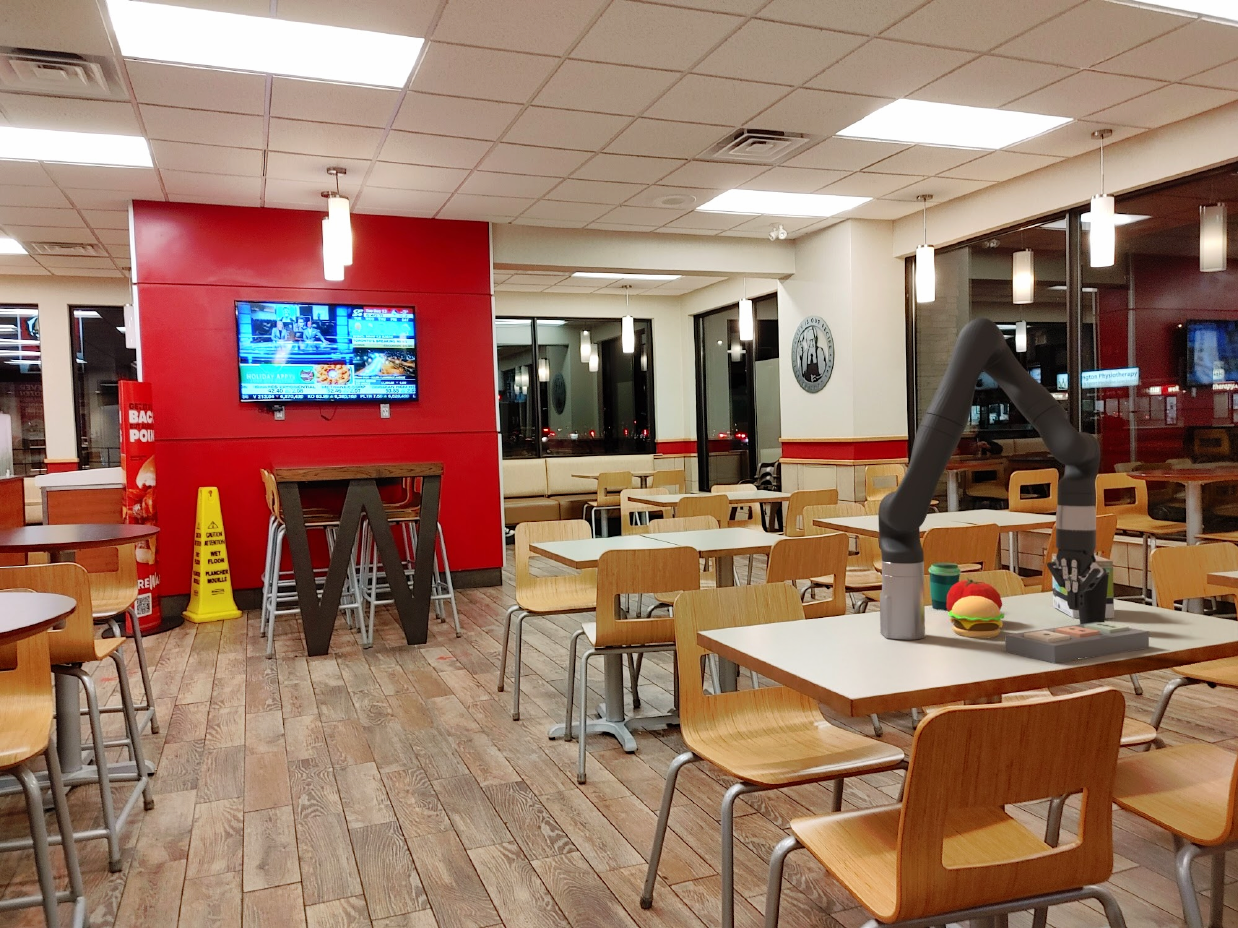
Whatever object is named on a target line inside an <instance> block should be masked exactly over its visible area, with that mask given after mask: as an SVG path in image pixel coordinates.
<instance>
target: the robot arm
mask: <svg viewBox="0 0 1238 928" xmlns="http://www.w3.org/2000/svg"><path fill="white" fill-rule="evenodd" d="M982 372H983V373H985V374H986V375H988V376H989V377H990V379H992V380H993V381H994V382H996V384H997V385H998V386H999V387H1000V388H1001V389H1002V390H1003V391H1004V393H1005V394H1006V395H1007V397H1008V398H1009V399H1010V400H1011V402H1012V403H1013V405H1014V406H1015V407H1016V409H1017V410H1018V411H1019V412H1020V414H1022V416H1023V417H1024V418H1025V419H1026V420H1027V421H1028V422H1029V424H1031V427H1033V428H1034V429H1035V430H1036V431H1037V432H1038V434H1039V436H1040V438H1041V440H1042V442H1043V444H1044V445H1045V447H1046V448H1047V451H1049V454H1051V455H1052V457H1053V458H1055V459H1056V460H1057V461H1058V462H1059V463H1061V464H1062V465H1065V466H1064V474H1063V477H1062V478H1061V479H1059V481H1058V483H1057V493H1056V495H1057V497H1056V499H1057V502H1056V503H1057V504H1056V505H1057V506H1056V507H1057V508H1056V514H1055V548H1056V549H1057V553H1056V554H1057V555H1056V559H1055V560H1054V561H1053V562H1052V561H1048V562H1047V563H1046V567H1047V568H1048V570H1049V571H1050V573H1051V576H1052V575H1053V577H1054V578H1055V580H1056V582H1057V583H1058V585H1059V587H1063V588H1065V589H1066V591H1067V604H1068V606H1069V609H1072V610H1081V609H1082V608H1083V606H1084V592H1085V591H1088V590H1092V589H1093V588H1094V587H1095V586H1096V584H1097V583H1098V582H1099V580H1100V579H1101V578H1102V577H1103V575H1104V574H1105V573H1106V569H1105V568H1100V567H1099V566H1098V565H1097V564H1096V558H1095V556H1094V555H1095V551H1096V548H1097V514H1096V507H1095V506H1096V490H1095V489H1096V488H1095V485H1096V481H1097V477H1098V473H1099V468H1100V464H1101V463H1100V461H1101V447H1100V443H1099V441H1098V439H1097V438H1096V437H1095V436H1094V435H1093V434H1091V433H1089V432H1085V431H1084V432H1083V431H1081V432H1080V431H1077V429H1076V428H1075V427H1074V426H1073V425H1072V424H1071V422H1070V421H1069V420H1068V419H1069V415H1068V412H1067V411H1066V409H1065V408H1064V406H1062V405H1061V404H1060V403H1059V401H1058V400H1057V399H1056V398H1055V396H1053V394H1052V393H1051V392H1050V391H1048V389H1047V388H1046V387H1044V386H1043V385H1042V383H1041V382H1039V381H1038V380H1037V379H1035V378H1034V377H1033V376H1032V375H1031V374H1030V373H1029V372H1028V371H1027V370H1026V369H1025V368H1024V367H1023V366H1022V364H1021V363H1020V362H1019V360H1018V359H1017V358H1016V356H1015V355H1014V354H1013V352H1012V350H1011V348H1010V347H1009V345H1008V343H1007V342H1006V338H1005V336H1004V334H1003V332H1002V330H1001V329H1000V327H999V326H998V325H997V324H996V323H995V321H993V320H991V319H989V318H986V317H978V318H974V319H972V320H970V321H969V322H967V323H966V324H965V325H964V326H962V328H961V330H960V331H959V333H958V336H957V338H956V341H955V344H954V347H953V350H952V353H951V356H950V358H949V362H948V364H947V367H946V370H945V372H944V374H943V377H942V378H941V380H940V382H939V385H938V386H937V389H936V391H935V393H934V394H933V397H932V398H931V401H930V403H929V405H928V407H927V409H926V411H925V413H924V415H923V417H922V420H921V422H920V423H919V426H918V428H917V431H916V433H915V437H914V441H913V446H912V450H911V456H910V461H909V464H908V466H907V469H906V472H905V474H904V476H903V477H902V479H901V481H900V483H899V485H898V487H897V489H896V490H895V491H891V492H889V493H887V494H886V495H885V496H884V497H883V498H882V499H881V501H880V503H879V506H878V515H877V516H878V518H877V519H878V537H879V538H878V541H879V543H878V544H879V548H880V552H881V553H880V554H881V555H880V556H881V592H879V609H880V610H879V612H880V614H879V615H880V616H879V621H880V624H879V625H880V629H879V630H880V632H879V633H880V634H881V635H882V636H883V637H885V638H886V639H893V640H894V639H895V640H904V641H905V640H907V641H908V640H911V641H912V640H919V639H924V638H925V636H926V621H925V620H926V616H925V615H926V614H925V608H926V607H925V604H926V603H925V559H924V557H925V554H924V549H923V545H922V543H921V542H922V541H921V536H920V533H921V532H920V527H921V526H922V525H923V523H924V522H925V520H926V518H927V515H928V514H929V513H928V512H929V510H930V507H931V503H932V501H933V497H934V495H935V492H936V489H937V486H938V484H939V482H940V480H941V477H942V475H943V474H944V471H945V470H946V468H947V466H948V464H949V463H950V461H951V458H952V456H953V454H954V453H955V450H956V449H957V446H958V444H959V443H960V441H961V438H962V436H963V435H964V432H965V429H966V428H967V424H968V423H969V422H968V421H969V419H970V416H971V411H972V406H973V401H974V395H975V391H976V387H977V383H978V380H979V378H980V376H981V374H982ZM1088 573H1090V574H1089V575H1088ZM1070 575H1072V576H1070Z"/></svg>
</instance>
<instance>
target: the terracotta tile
mask: <svg viewBox="0 0 1238 928" xmlns="http://www.w3.org/2000/svg"><path fill="white" fill-rule="evenodd" d="M1071 626H1072V625H1071ZM1055 633H1059V634H1064V635H1069V636H1074V637H1079V638H1082V637H1089V636H1096V635H1100V631H1097V630H1092V629H1087V628H1081V627H1076V626H1072V627H1065V628H1058V629H1055Z"/></svg>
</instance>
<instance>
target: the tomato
mask: <svg viewBox="0 0 1238 928" xmlns="http://www.w3.org/2000/svg"><path fill="white" fill-rule="evenodd" d="M968 596H981V597H984V598H987V599H989V600H992V601H993V602H994V603H995V604H997V606H998V608H999V609H1000V610H1001V609H1002V606H1003V601H1002V598H1001V594H1000V593H999V592H998V591H997V589H996V588H995V587H994V586H992V585H990V583H987V582H983V581H974V579H970V578H968V577H966V580H959V582H958V583H956V584H954V585H953V586H952V587H951V589H950V590H949V592H948V594H947V609H948V610H947V611H948V612H947V613H949V612H950V611H951V610H952V607H953V606H954V604H955V603H956V602H957V601H958V600H960V599H962V598H965V597H968Z"/></svg>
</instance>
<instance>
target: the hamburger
mask: <svg viewBox="0 0 1238 928" xmlns="http://www.w3.org/2000/svg"><path fill="white" fill-rule="evenodd" d="M947 614H948V617H950V620H949V621H950V622H951V624H953V626H952V630H953V632H954V633H955V635H958V636H961V637H965V636H967V637H966V638H973V637H977V638H979V639H988V637H990V638H995V637H997V636H998V635H1000V633H1001V629H1002V628H1003V625H1004V624H1003V621H1002V619H1005V614H1004V613H1001V609H999V608H998V606H997V604H995V603H994V602H993V601H992V600H989V599H987V598H984V597H981V596H968V597H965V598H962V599H960V600H958V601H957V602H956V603H955V604H954V606H953V607H952V610H951V611H950V612H947Z"/></svg>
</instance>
